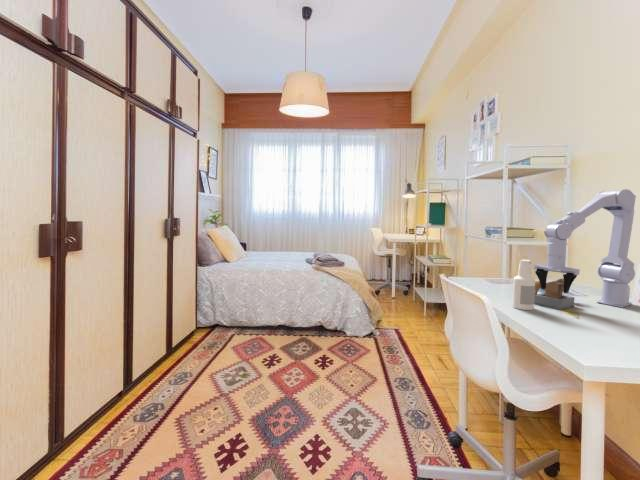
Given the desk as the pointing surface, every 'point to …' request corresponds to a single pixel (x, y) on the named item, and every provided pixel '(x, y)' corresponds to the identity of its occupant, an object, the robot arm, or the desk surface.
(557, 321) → the desk surface
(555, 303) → the square well
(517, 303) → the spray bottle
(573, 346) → the desk surface
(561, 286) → the walnut block
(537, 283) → the lion figurine
